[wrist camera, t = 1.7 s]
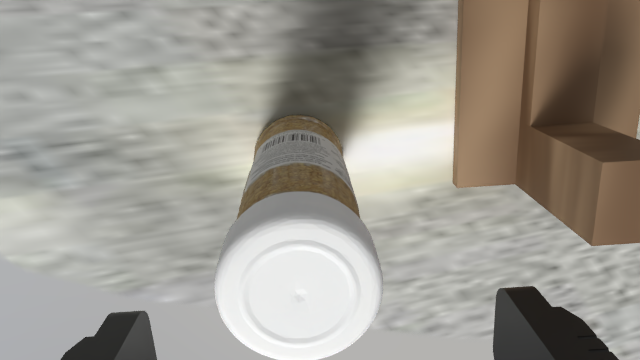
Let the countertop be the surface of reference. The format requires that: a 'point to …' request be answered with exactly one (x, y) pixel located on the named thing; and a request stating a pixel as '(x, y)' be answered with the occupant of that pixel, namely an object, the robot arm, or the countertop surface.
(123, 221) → the countertop surface
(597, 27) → the walnut slotted holder
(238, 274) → the sprinkles bottle
